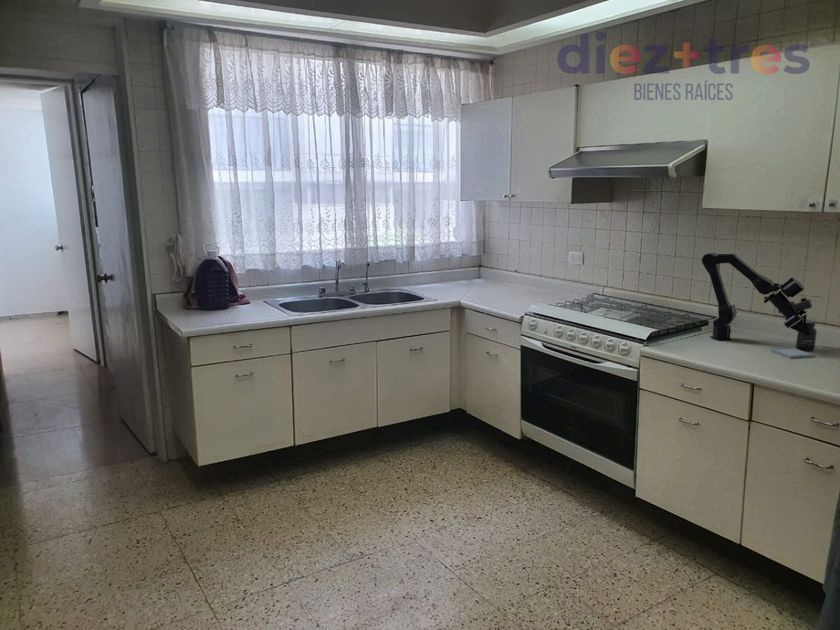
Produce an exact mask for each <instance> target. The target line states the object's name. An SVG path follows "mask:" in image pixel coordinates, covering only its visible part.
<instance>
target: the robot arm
mask: <svg viewBox="0 0 840 630" xmlns="http://www.w3.org/2000/svg"><path fill="white" fill-rule="evenodd" d="M701 262H702V265H703V267H704V268H705V271H706V272H707V273H708V274H709V277H710V281H711V284H712V287H713V290H714V294H715V297H716V301H717V304H718V307H717V313H718V318H716V319H714V320H713V322H712V324H713V325H712V326H713V327H712V335H710V338H711V339H713V340H717V341H732V338H731V331H732V329H731V325H730V324H731V323H732V322H733V321H734V320H736V318H737V314H738V311H737V310H736V305H735V304H731V302H729V299H728V294H727V291H726V288H725V284H724V281H723V279H722V273H721V271H720V268H721V264H730V265H731V266H732V267H733V268H735V269H736V270H737V271H738V272H739V273H740V274H742V275H743V276H744V277H745V278H746V279H748V280H749V282H751V283H752V285H753V287H754V288H755V289H756V290H757V292H758V293H759V294H761V295H764V297H763V298H764V301H763V303H764V304H766V303H768V302H770V303H771V304H772V305H773V306H774V308H776V309H777V313H778V314H782V316H783V317H784V318H785V321H784V324H783V325H784V326H785V327H786V328H787V329H788V328H789V329H792V330H794V331H796V332H801V333H803V334H805V335H807V336H809V335H810V332H809V331H808V329H807V328H806V327H805V325H804V324H803V321H808V319H807V316H808V313H807V312H808V311H807V310H809V309H812V307H813V304H812V301H811V299H809V298H808V299H807V297H802V298H800V301H798V302H796V303H795V302H794V301H791V300H789V298H795V297H796V296H797V295H799V294H800V293H802V291H804V290H805V289H806V288H805V286H804V285H803V284H802V283H801V282H800V281H798V280H797V279H795V278H794V277H793V276H792V277H790V278H789V279H788V280H787V281H785V282H784V283H783V284H781V283H777V282H774V281H773V280H772V279H770V278H768V277H766V276H763V275H762V274H760V273H758V272H757V271H756V270H755V269H753V268H752V267H750V265H748V264H747V263H746V262H745V261H743V259H741V258H740V257H739V256H737V253H733V252H732V253H716V252H713V251H711V252H709V253H706V254H704V255H703V256H702V258H701ZM779 290H780V291H779ZM766 295H767V296H766Z"/></svg>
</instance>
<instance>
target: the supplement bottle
mask: <svg viewBox="0 0 840 630" xmlns="http://www.w3.org/2000/svg"><path fill="white" fill-rule="evenodd" d="M803 324H804V325H805V327H806V328H807V329H808V331H809V332H810V335H809V336H807V335H805V334H803V333H801V332H798V331H796V332H797V333H796V341H795V348H796V349H799V350H802V351H805V352H814V351H815V348H816V341H817V334H818V333H817V332H818V331H817V329H816V328H815V326H816V322H815V321H812V320H807V321H803Z"/></svg>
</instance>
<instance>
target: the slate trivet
mask: <svg viewBox="0 0 840 630" xmlns="http://www.w3.org/2000/svg"><path fill="white" fill-rule="evenodd" d="M770 352H772V353H773V352H774V353H773V354H776V353H777V355H779V356H782V357H784V356H785V358H788V359H790V360H791V359H803V358H805V359H806V358H815V357H816V355H815V354H812V353H810V352H809V351H802V350H799V349H796V347H795V348H794V347H791V348H775V349H770Z"/></svg>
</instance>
